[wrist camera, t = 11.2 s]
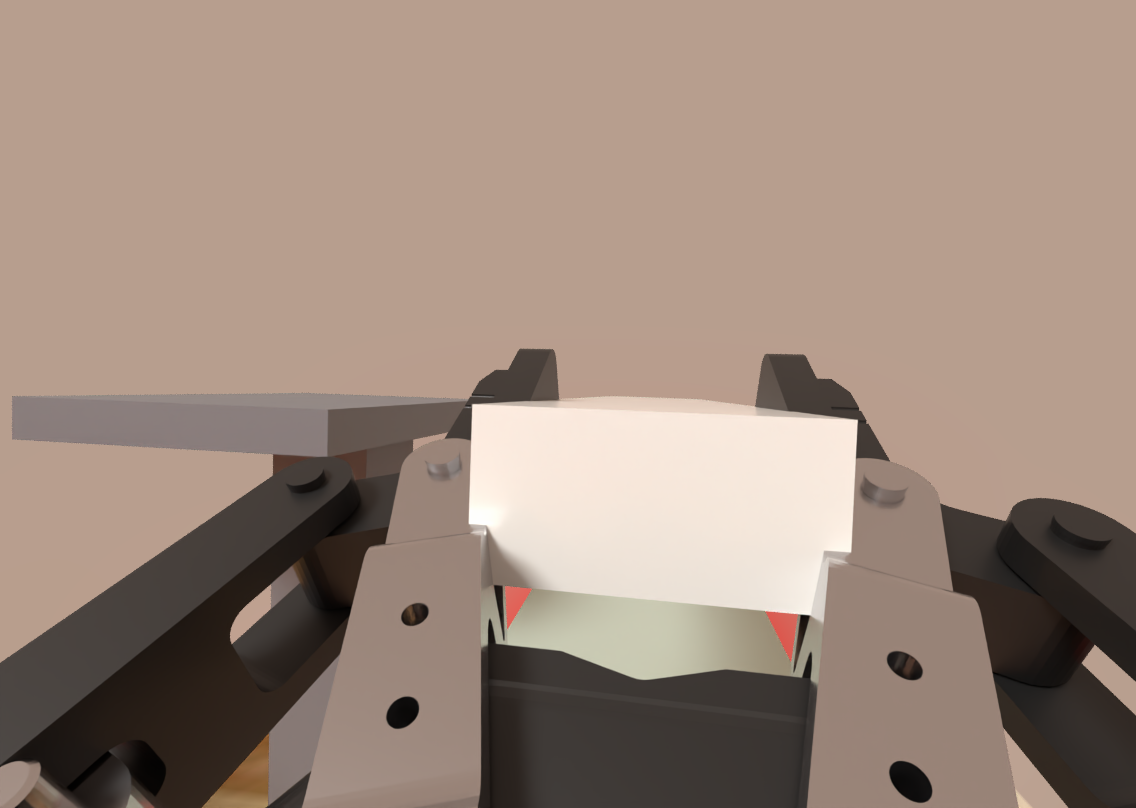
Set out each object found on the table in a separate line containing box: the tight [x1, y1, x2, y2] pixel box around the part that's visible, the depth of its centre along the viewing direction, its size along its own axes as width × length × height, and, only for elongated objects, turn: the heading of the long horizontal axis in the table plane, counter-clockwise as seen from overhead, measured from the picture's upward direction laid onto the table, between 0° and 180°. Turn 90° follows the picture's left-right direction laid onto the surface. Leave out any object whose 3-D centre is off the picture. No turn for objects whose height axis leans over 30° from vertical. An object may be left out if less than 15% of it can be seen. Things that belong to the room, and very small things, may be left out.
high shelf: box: [12, 393, 468, 806], centre depth 27 cm, size 18×14×32 cm
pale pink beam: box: [469, 396, 858, 615], centre depth 17 cm, size 22×4×2 cm, turn 171°
